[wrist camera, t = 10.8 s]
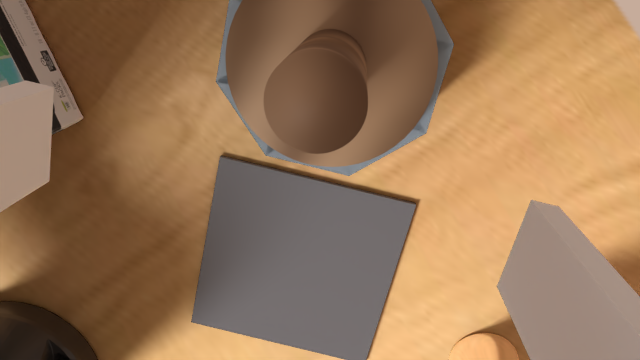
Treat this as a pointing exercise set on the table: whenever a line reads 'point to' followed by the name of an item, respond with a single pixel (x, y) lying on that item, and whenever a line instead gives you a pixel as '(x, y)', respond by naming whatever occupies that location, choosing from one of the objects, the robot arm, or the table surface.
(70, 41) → the table surface
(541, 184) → the table surface
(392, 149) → the bowl
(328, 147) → the lid
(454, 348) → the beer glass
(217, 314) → the mat
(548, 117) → the table surface
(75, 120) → the tea box
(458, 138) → the table surface
